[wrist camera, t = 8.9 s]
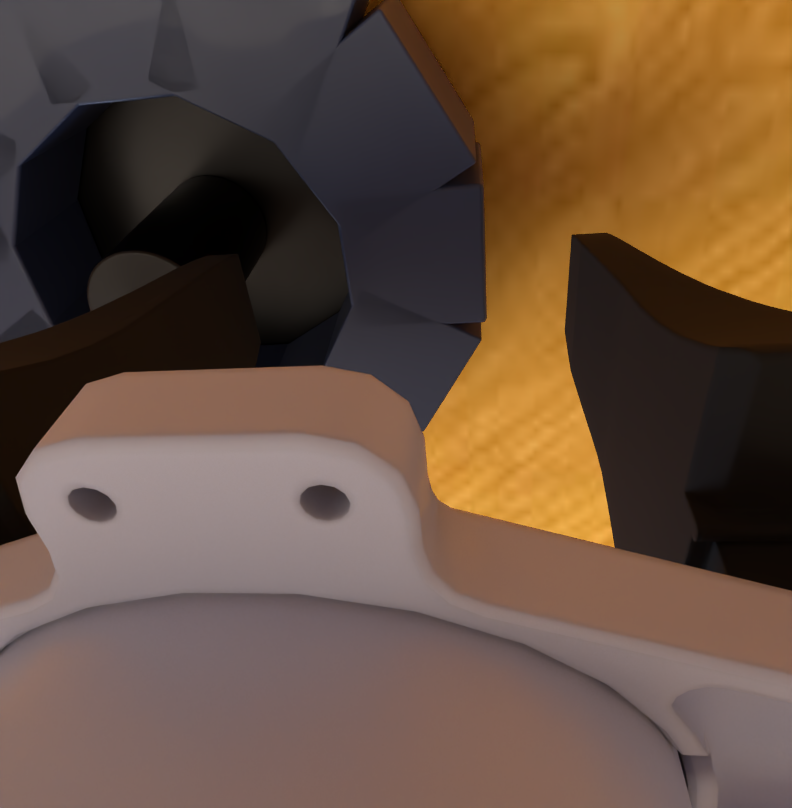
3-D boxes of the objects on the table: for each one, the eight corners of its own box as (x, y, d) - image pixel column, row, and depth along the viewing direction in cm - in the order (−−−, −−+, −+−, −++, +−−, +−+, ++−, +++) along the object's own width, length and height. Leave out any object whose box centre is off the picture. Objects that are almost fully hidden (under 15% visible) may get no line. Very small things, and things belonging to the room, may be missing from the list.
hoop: (225, 480, 22) (197, 548, 20) (-143, 158, 16) (-247, 200, 14) (577, 289, 17) (595, 351, 14) (219, -298, 11) (151, -357, 8)
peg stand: (228, 392, 21) (167, 520, 17) (-5, 163, 17) (-170, 252, 13) (458, 253, 18) (458, 368, 13) (233, -79, 14) (120, -76, 9)
